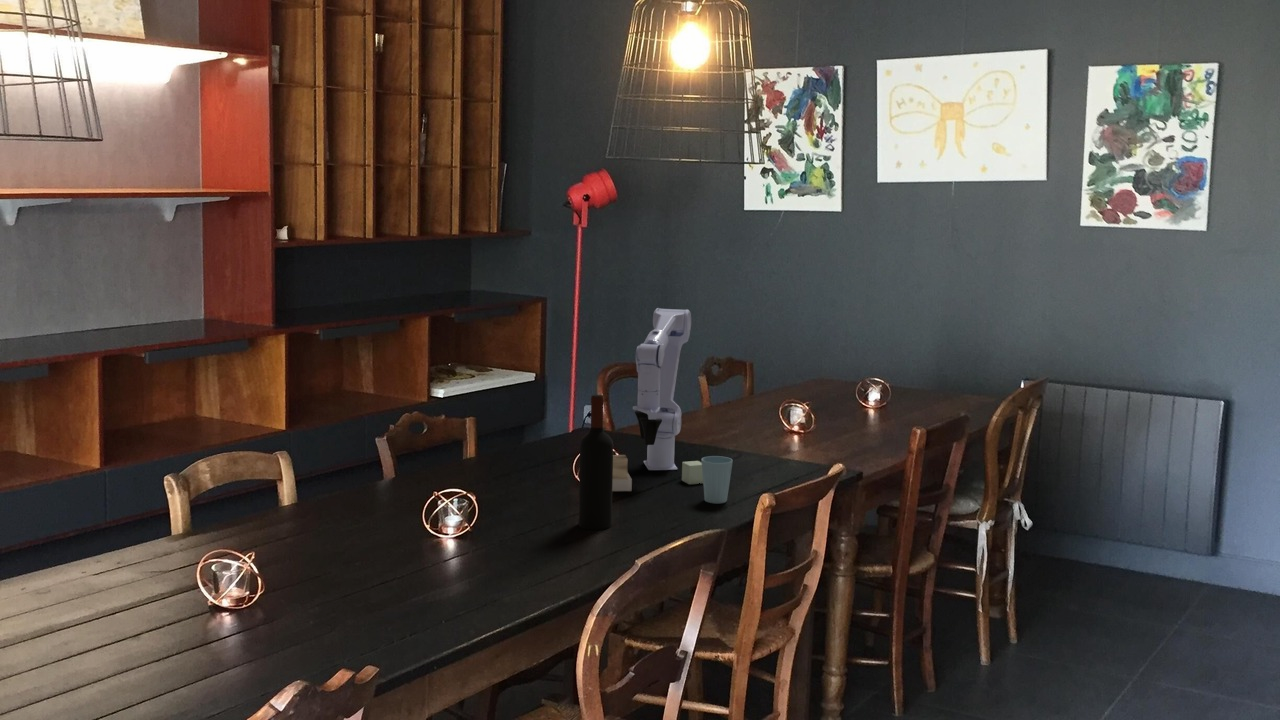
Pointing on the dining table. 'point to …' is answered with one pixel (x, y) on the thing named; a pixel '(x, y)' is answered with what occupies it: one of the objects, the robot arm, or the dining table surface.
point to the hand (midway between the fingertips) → (647, 441)
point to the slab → (622, 484)
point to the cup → (716, 478)
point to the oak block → (620, 466)
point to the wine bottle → (596, 472)
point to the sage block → (692, 472)
